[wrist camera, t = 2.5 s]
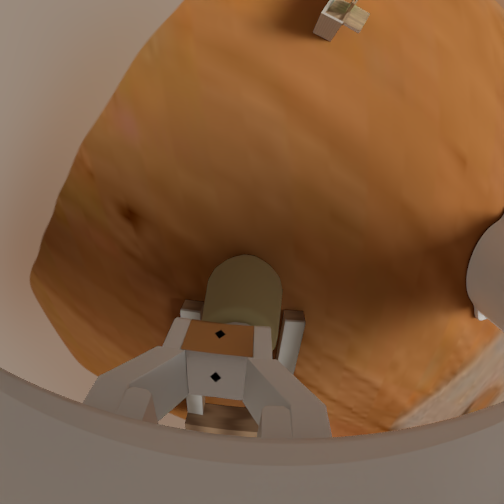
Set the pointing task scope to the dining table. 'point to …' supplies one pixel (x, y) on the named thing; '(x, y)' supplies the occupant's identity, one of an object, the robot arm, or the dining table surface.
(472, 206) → the dining table surface
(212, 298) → the squeeze bottle
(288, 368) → the cradle
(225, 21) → the dining table surface
